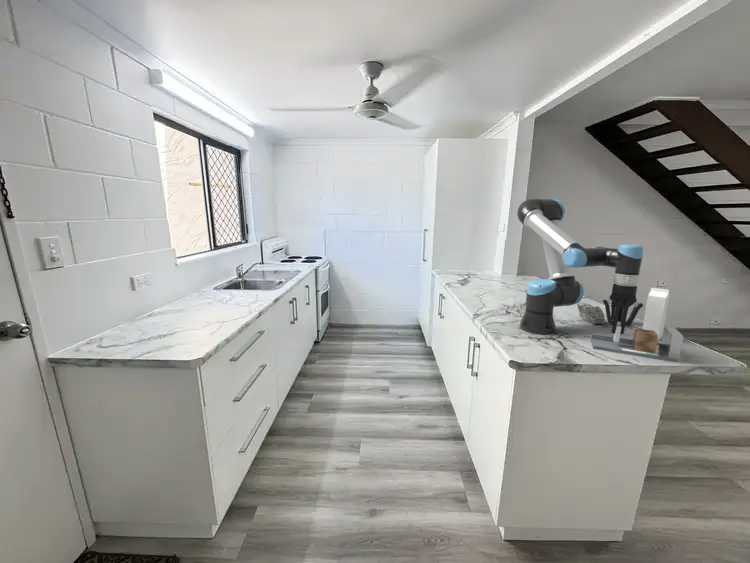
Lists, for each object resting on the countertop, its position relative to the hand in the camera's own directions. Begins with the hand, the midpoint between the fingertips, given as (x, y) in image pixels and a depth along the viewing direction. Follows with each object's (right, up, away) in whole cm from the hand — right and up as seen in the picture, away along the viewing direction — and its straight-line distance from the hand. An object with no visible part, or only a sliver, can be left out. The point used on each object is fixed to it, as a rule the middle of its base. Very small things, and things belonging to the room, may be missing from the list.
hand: (616, 340), depth 128 cm
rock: (+12, +4, +34) cm, 36 cm away
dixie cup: (+25, +3, +32) cm, 40 cm away
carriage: (+8, -2, -5) cm, 9 cm away
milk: (+25, -1, +12) cm, 28 cm away
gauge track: (+4, -3, -2) cm, 6 cm away
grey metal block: (+14, -3, -8) cm, 17 cm away
